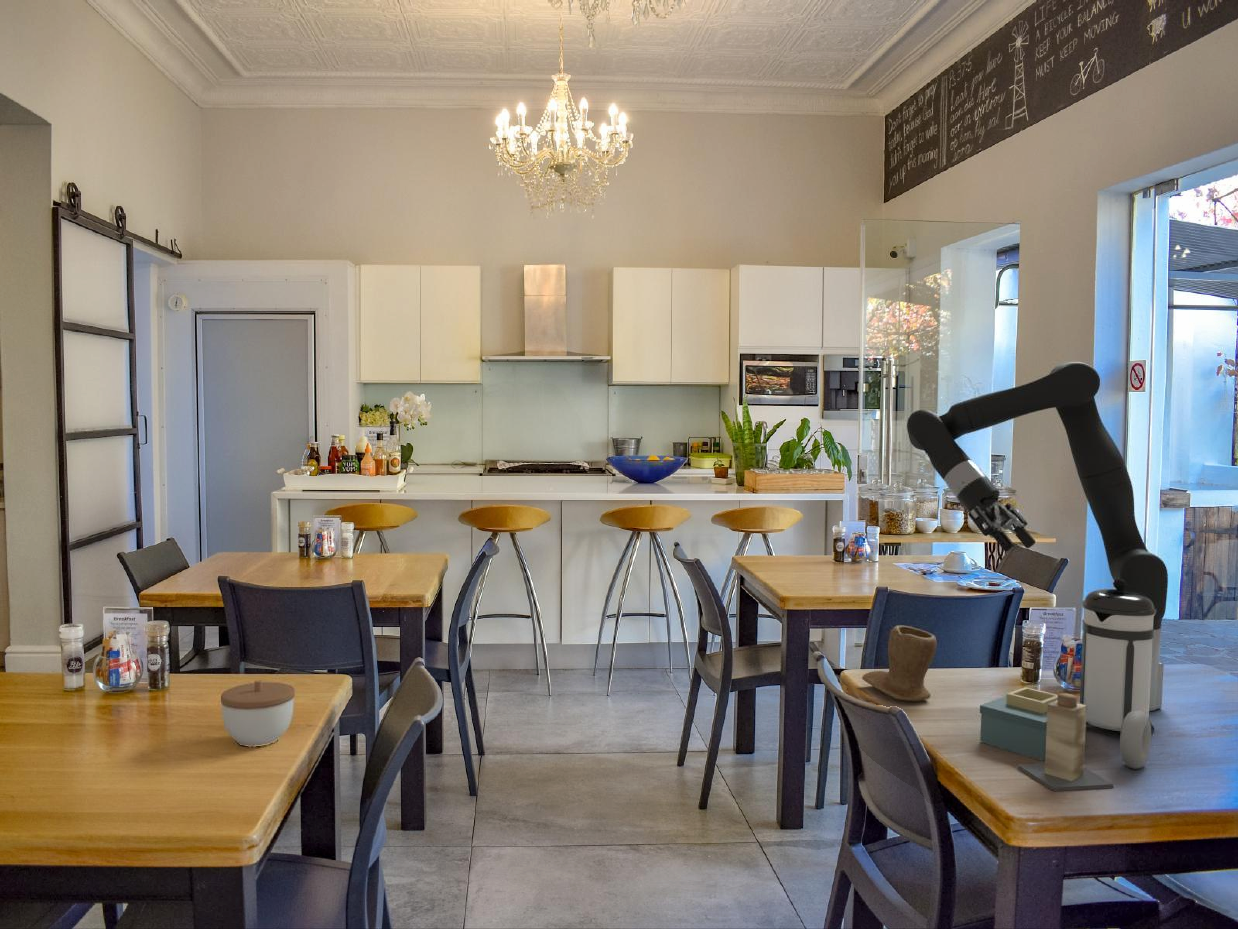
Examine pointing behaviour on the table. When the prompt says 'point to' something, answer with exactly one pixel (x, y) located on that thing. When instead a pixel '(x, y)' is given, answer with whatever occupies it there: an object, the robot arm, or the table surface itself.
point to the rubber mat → (1058, 784)
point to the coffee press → (1116, 655)
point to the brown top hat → (905, 664)
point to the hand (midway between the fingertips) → (1021, 547)
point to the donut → (1135, 739)
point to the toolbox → (1018, 722)
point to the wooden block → (1065, 737)
